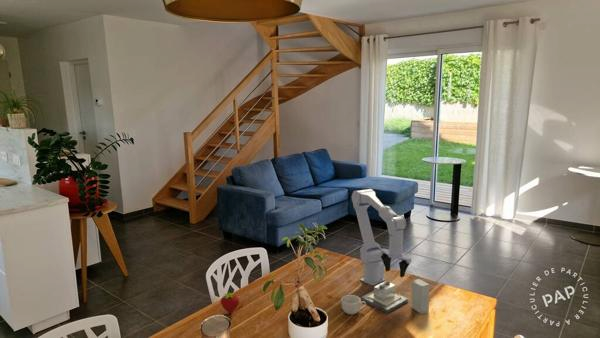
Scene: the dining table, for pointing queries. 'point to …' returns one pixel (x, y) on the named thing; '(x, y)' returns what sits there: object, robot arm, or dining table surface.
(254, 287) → the dining table surface
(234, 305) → the strawberry
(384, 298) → the block
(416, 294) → the skincare box
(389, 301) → the stand
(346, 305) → the teacup
